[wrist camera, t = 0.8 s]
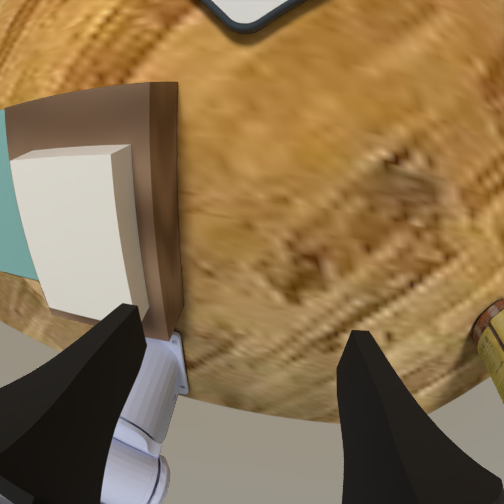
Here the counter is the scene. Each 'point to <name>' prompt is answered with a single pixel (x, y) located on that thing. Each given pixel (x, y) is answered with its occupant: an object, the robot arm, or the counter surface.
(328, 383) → the counter surface
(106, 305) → the tile
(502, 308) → the sauce bottle
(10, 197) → the mat
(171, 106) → the block
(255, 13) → the phone case
